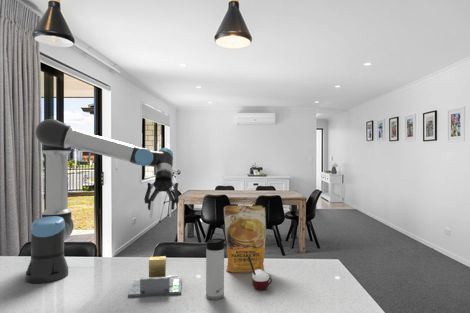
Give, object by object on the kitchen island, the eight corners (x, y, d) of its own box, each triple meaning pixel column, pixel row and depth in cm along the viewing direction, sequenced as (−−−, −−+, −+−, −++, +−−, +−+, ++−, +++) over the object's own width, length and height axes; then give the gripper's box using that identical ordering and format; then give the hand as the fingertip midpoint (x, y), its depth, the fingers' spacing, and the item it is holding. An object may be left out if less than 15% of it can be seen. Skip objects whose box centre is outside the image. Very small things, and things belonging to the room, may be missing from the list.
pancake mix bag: (222, 268, 141) (223, 204, 141) (265, 267, 143) (265, 204, 143) (223, 273, 134) (223, 206, 135) (268, 272, 136) (268, 206, 136)
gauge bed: (128, 297, 110) (128, 279, 110) (134, 283, 123) (134, 267, 123) (180, 294, 113) (181, 277, 113) (181, 280, 125) (181, 265, 126)
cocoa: (271, 286, 121) (272, 254, 122) (272, 292, 115) (273, 259, 116) (246, 284, 122) (248, 252, 123) (245, 290, 116) (247, 257, 117)
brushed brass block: (148, 284, 119) (149, 260, 119) (150, 280, 123) (150, 256, 123) (177, 282, 120) (177, 258, 120) (177, 278, 124) (177, 255, 124)
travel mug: (222, 300, 108) (222, 241, 108) (203, 299, 109) (204, 240, 109) (226, 293, 114) (226, 237, 114) (208, 291, 115) (209, 236, 115)
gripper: (185, 180, 153) (184, 220, 137) (142, 180, 150) (136, 221, 134) (185, 169, 148) (184, 209, 132) (140, 169, 145) (134, 210, 129)
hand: (160, 215), depth 133 cm, fingers open, 7 cm apart
